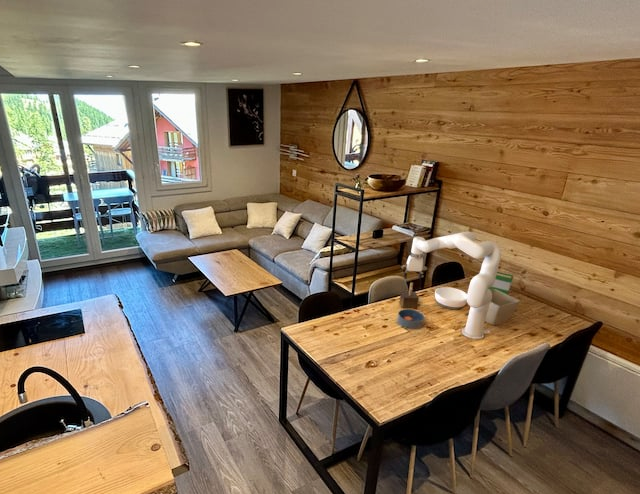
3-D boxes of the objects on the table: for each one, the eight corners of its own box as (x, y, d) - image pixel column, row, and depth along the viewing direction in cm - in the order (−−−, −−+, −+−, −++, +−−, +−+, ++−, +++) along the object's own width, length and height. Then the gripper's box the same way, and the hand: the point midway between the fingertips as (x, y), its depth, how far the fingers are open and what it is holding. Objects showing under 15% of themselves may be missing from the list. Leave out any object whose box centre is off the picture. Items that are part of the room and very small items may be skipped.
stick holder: (413, 302, 281) (415, 291, 278) (416, 309, 272) (418, 298, 269) (399, 302, 282) (401, 291, 279) (402, 308, 273) (404, 297, 269)
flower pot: (493, 329, 250) (500, 306, 243) (469, 315, 266) (474, 293, 259) (514, 323, 257) (520, 300, 251) (489, 310, 273) (495, 288, 267)
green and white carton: (476, 302, 284) (483, 272, 275) (478, 298, 290) (485, 269, 280) (503, 309, 275) (511, 278, 265) (505, 306, 280) (513, 275, 271)
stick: (408, 305, 278) (412, 282, 271) (409, 306, 276) (413, 283, 269) (406, 305, 278) (410, 282, 271) (406, 306, 276) (410, 283, 269)
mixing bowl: (419, 317, 262) (420, 309, 260) (425, 330, 247) (427, 322, 245) (394, 316, 263) (395, 308, 260) (399, 329, 248) (401, 321, 246)
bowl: (446, 294, 295) (448, 284, 292) (473, 306, 278) (475, 296, 274) (426, 301, 284) (428, 290, 281) (453, 314, 267) (455, 303, 264)
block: (408, 321, 256) (409, 316, 254) (411, 324, 252) (412, 319, 251) (402, 322, 255) (403, 317, 253) (406, 325, 251) (407, 320, 250)
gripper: (427, 253, 265) (423, 276, 272) (402, 252, 266) (398, 275, 273) (431, 257, 258) (426, 281, 265) (404, 256, 259) (400, 279, 266)
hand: (412, 278), depth 269 cm, fingers open, 9 cm apart
